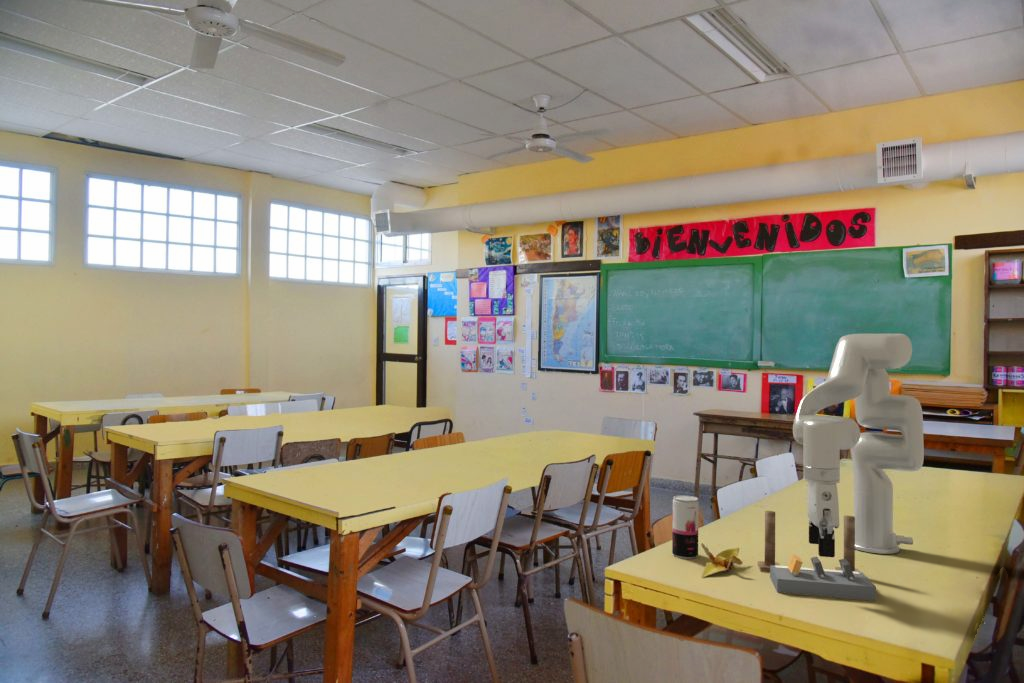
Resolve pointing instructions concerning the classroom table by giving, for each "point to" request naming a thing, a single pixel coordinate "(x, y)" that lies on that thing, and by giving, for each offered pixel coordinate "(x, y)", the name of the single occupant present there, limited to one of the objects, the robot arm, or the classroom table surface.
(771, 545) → the post left
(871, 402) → the robot arm
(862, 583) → the panel
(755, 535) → the classroom table surface
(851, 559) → the post right
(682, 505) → the beverage can
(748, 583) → the classroom table surface
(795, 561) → the toggle
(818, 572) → the toggle
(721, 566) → the origami crane
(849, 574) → the toggle
